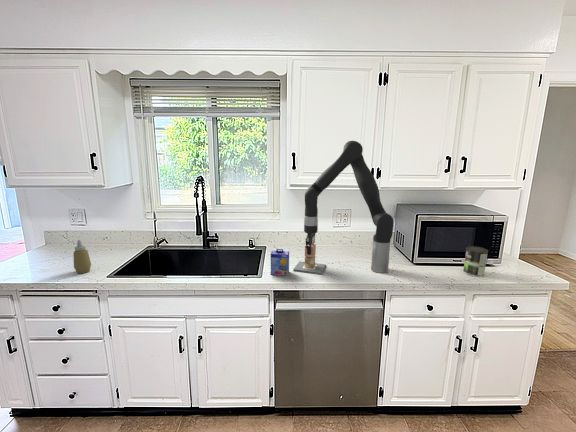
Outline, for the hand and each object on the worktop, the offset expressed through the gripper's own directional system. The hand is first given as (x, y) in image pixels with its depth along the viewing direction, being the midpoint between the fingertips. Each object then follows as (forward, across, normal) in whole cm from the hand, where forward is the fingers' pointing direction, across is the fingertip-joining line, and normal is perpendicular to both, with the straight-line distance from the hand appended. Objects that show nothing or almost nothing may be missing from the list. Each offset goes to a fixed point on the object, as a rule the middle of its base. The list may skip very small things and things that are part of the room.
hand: (310, 252), depth 176 cm
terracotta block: (+2, 0, 0) cm, 2 cm away
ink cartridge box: (+10, -12, +14) cm, 21 cm away
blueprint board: (+9, 0, 0) cm, 9 cm away
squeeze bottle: (+10, -44, +117) cm, 125 cm away
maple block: (+8, 0, 0) cm, 8 cm away
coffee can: (+10, +22, -88) cm, 91 cm away
